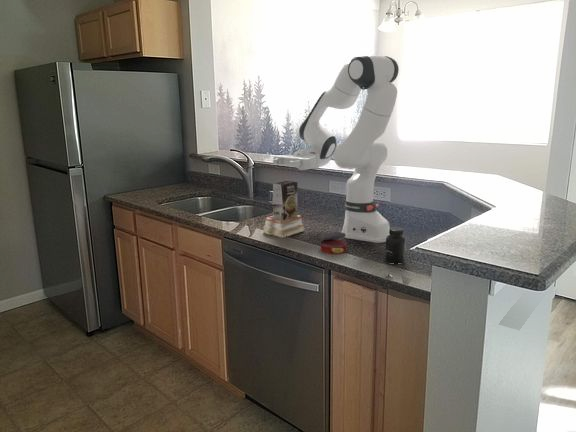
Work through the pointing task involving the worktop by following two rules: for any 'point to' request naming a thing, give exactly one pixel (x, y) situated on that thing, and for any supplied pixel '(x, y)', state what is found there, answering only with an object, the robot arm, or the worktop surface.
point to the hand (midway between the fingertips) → (282, 162)
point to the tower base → (283, 232)
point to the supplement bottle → (395, 246)
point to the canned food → (333, 243)
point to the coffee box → (284, 200)
